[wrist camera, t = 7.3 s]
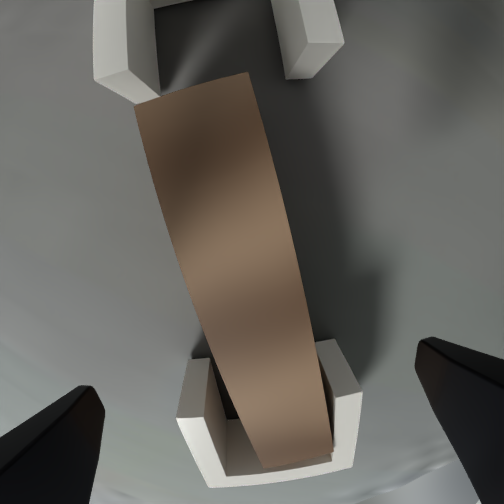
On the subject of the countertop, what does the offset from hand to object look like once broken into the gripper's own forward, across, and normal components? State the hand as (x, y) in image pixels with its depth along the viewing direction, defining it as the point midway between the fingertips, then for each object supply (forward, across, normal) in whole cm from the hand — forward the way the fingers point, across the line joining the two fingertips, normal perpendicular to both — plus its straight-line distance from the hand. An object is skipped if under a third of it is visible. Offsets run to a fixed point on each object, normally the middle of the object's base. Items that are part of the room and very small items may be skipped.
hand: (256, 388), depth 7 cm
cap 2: (+8, 0, +7) cm, 10 cm away
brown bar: (+8, 0, 0) cm, 8 cm away
